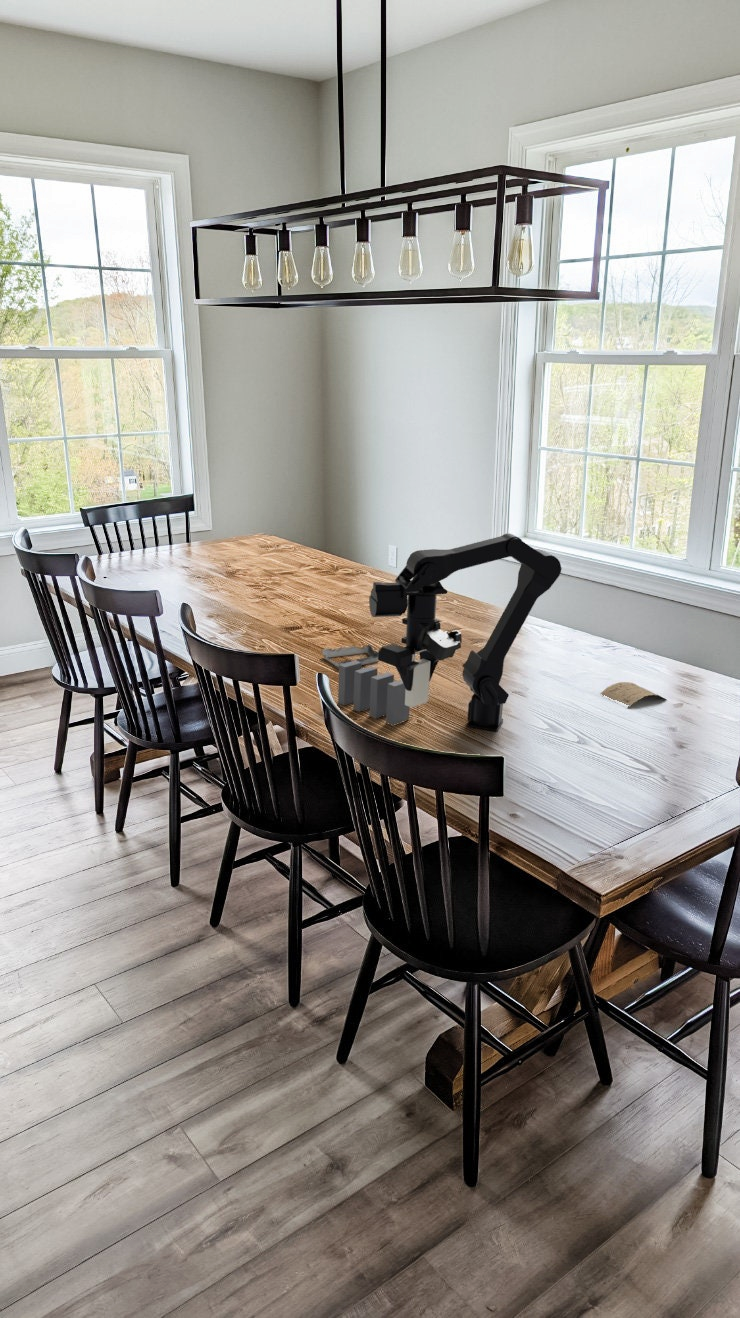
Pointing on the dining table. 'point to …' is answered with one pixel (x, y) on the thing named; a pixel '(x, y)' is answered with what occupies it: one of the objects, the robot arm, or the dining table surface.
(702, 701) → the dining table surface
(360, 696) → the domino
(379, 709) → the domino
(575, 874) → the dining table surface
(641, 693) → the tan curved piece
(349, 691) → the domino
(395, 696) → the domino
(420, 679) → the loose domino
